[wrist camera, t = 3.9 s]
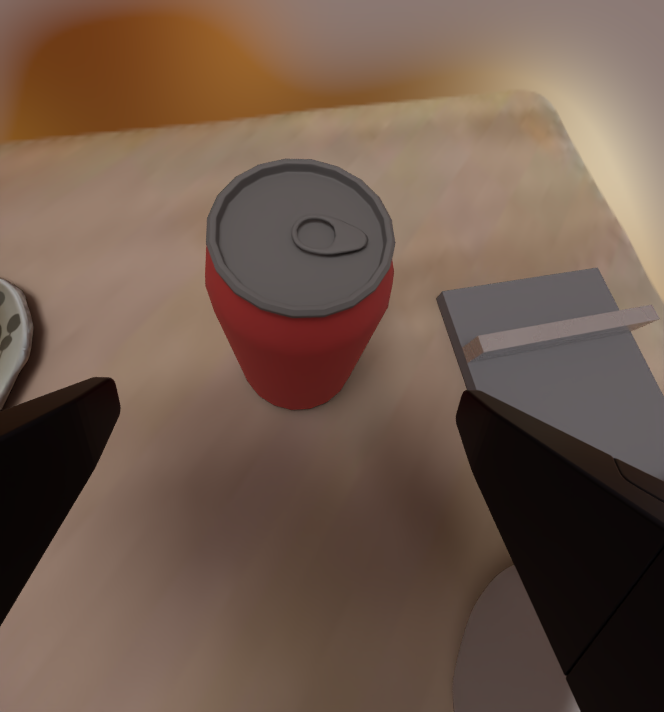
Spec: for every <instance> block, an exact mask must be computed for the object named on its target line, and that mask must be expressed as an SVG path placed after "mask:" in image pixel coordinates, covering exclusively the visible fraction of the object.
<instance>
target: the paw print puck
mask: <svg viewBox="0 0 664 712" xmlns="http://www.w3.org/2000/svg"><path fill="white" fill-rule="evenodd" d="M453 706H454V712H580V709H579V707H578V705H577V703H576V701H575V698H574V696H573V694H572V692H571V690H570V687H569V685H568V683H567V681H566V676H565V675H564V674H563V671H562V669H561V667H560V665H559V663H558V660H557V658H556V656H555V654H554V651H553V649H552V647H551V645H550V643H549V640H548V638H547V636H546V634H545V632H544V629H543V627H542V625H541V623H540V621H539V618H538V616H537V614H536V612H535V610H534V607H533V605H532V603H531V601H530V599H529V596H528V594H527V592H526V590H525V588H524V585H523V583H522V581H521V579H520V576H519V574H518V572H517V570H516V568H515V565H513V566H510V567H508V568H506V569H505V570H503V571H502V572H501V573H499V574H498V575H497V576H496V577H495V578H494V579H493V580H492V581H491V582H490V583H489V585H488V586H487V587H486V589H485V590H484V591H483V593H482V594H481V596H480V597H479V599H478V600H477V602H476V603H475V605H474V607H473V609H472V611H471V614H470V616H469V619H468V622H467V625H466V628H465V631H464V635H463V638H462V642H461V646H460V650H459V654H458V658H457V662H456V667H455V672H454V678H453Z"/></svg>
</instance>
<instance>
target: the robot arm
mask: <svg viewBox="0 0 664 712" xmlns="http://www.w3.org/2000/svg"><path fill="white" fill-rule="evenodd" d="M119 415H120V402H119V397H118V393H117V388H116V384H115V381H114V380H113V379H112V378H108V377H93V378H90V379H87V380H84V381H82V382H79V383H76V384H74V385H71V386H68V387H65V388H63V389H60V390H57V391H54V392H52V393H49V394H46V395H44V396H41V397H38V398H35V399H33V400H30V401H27V402H24V403H22V404H19V405H16V406H14V407H11V408H8V409H5V410H3V411H0V626H1V624H2V623H3V621H4V619H5V618H6V616H7V614H8V613H9V611H10V609H11V608H12V606H13V604H14V603H15V601H16V599H17V598H18V596H19V594H20V593H21V591H22V589H23V588H24V586H25V584H26V583H27V581H28V579H29V578H30V576H31V574H32V573H33V571H34V569H35V568H36V566H37V564H38V563H39V561H40V559H41V558H42V556H43V554H44V553H45V551H46V549H47V548H48V546H49V544H50V543H51V541H52V539H53V538H54V536H55V534H56V533H57V531H58V529H59V528H60V526H61V524H62V523H63V521H64V519H65V518H66V516H67V514H68V513H69V511H70V509H71V508H72V506H73V504H74V503H75V501H76V499H77V498H78V496H79V494H80V493H81V491H82V489H83V488H84V486H85V484H86V483H87V481H88V479H89V478H90V476H91V474H92V472H93V471H94V469H95V467H96V465H97V463H98V461H99V459H100V457H101V455H102V452H103V450H104V448H105V446H106V444H107V441H108V439H109V437H110V435H111V433H112V430H113V428H114V426H115V424H116V422H117V419H118V417H119ZM456 424H457V427H458V430H459V433H460V436H461V440H462V443H463V446H464V449H465V452H466V455H467V458H468V461H469V464H470V467H471V470H472V472H473V475H474V477H475V479H476V482H477V484H478V486H479V488H480V490H481V493H482V495H483V497H484V499H485V501H486V504H487V506H488V508H489V510H490V513H491V515H492V517H493V519H494V521H495V524H496V526H497V528H498V530H499V532H500V535H501V537H502V539H503V541H504V543H505V546H506V548H507V550H508V552H509V554H510V557H511V559H512V561H513V563H514V565H515V568H516V570H517V572H518V574H519V576H520V579H521V581H522V583H523V585H524V588H525V590H526V592H527V594H528V596H529V599H530V601H531V603H532V605H533V607H534V610H535V612H536V614H537V616H538V618H539V621H540V623H541V625H542V627H543V629H544V632H545V634H546V636H547V638H548V640H549V643H550V645H551V647H552V649H553V651H554V654H555V656H556V658H557V660H558V663H559V665H560V667H561V669H562V671H563V674H564V675H565V676H566V681H567V683H568V685H569V687H570V690H571V692H572V694H573V696H574V698H575V701H576V703H577V705H578V707H579V709H580V712H664V481H662V480H660V479H658V478H656V477H654V476H652V475H650V474H648V473H646V472H644V471H642V470H640V469H638V468H636V467H633V466H631V465H629V464H627V463H625V462H623V461H621V460H619V459H617V458H613V457H612V456H611V455H609V454H607V453H605V452H603V451H601V450H599V449H597V448H595V447H593V446H591V445H589V444H587V443H585V442H583V441H581V440H579V439H577V438H575V437H573V436H571V435H569V434H567V433H565V432H563V431H561V430H559V429H557V428H555V427H553V426H551V425H549V424H547V423H545V422H543V421H541V420H539V419H537V418H535V417H533V416H531V415H529V414H527V413H525V412H523V411H521V410H519V409H517V408H515V407H513V406H511V405H509V404H507V403H505V402H503V401H501V400H499V399H497V398H495V397H493V396H491V395H489V394H487V393H485V392H483V391H480V390H465V391H464V392H463V394H462V396H461V400H460V403H459V407H458V410H457V414H456Z"/></svg>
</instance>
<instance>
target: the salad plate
mask: <svg viewBox="0 0 664 712" xmlns="http://www.w3.org/2000/svg"><path fill="white" fill-rule="evenodd" d="M32 337H33V323H32V318H31V313H30V310H29V308H28V305H27V302H26V297H25V295H24V293H23V291H22V290H20V289H19V288H18V287H16V286H15V285H13V284H12V283H10V282H9V281H6V280H4V279H0V411H1V409H2V407H3V405H4V403H5V402H6V400H7V398H8V396H9V393H10V391H11V389H12V387H13V385H14V383H15V380H16V378H17V376H18V374H19V372H20V371H21V369H22V368H23V366H24V365H25V364H26V362H27V360H28V358H29V356H30V351H31V345H32Z"/></svg>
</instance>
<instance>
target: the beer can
mask: <svg viewBox="0 0 664 712" xmlns="http://www.w3.org/2000/svg"><path fill="white" fill-rule="evenodd" d="M206 245H207V247H206V267H205V284H206V289H207V291H208V294H209V297H210V300H211V303H212V306H213V309H214V312H215V314H216V316H217V318H218V320H219V322H220V324H221V326H222V328H223V331H224V333H225V335H226V337H227V339H228V341H229V343H230V345H231V347H232V349H233V352H234V354H235V356H236V358H237V360H238V362H239V364H240V366H241V368H242V370H243V372H244V375H245V377H246V379H247V381H248V382H249V384H250V385H251V386H252V387H253V389H254V390H255V391H256V392H257V394H258V395H259V396H260V397H262V398H264V399H265V400H267V401H268V402H270V403H271V404H273V405H275V406H279V407H283V408H287V409H291V410H296V409H310V408H313V407H316V406H318V405H321V404H323V403H326V402H327V401H329V400H330V399H331V398H332V397H334V396H335V395H336V394H337V393H338V392H340V391H341V389H342V387H343V386H344V384H345V382H346V381H347V379H348V378H349V376H350V374H351V372H352V371H353V369H354V367H355V365H356V363H357V362H358V360H359V358H360V356H361V354H362V353H363V351H364V349H365V347H366V345H367V344H368V342H369V340H370V338H371V336H372V335H373V333H374V331H375V329H376V327H377V326H378V324H379V322H380V320H381V318H382V317H383V315H384V313H385V311H386V309H387V308H388V303H389V298H390V294H391V289H392V284H393V275H394V269H393V262H392V257H393V252H394V247H395V238H394V232H393V226H392V219H391V218H390V216H389V214H388V212H387V210H386V208H385V206H384V205H383V203H382V201H381V199H380V197H379V196H377V195H376V194H375V193H374V192H373V191H372V190H371V189H370V188H369V187H368V186H367V185H366V184H365V183H364V182H363V181H362V180H361V179H359V178H357V177H356V176H354V175H352V174H350V173H348V172H347V171H345V170H343V169H341V168H339V167H338V166H334V165H330V164H327V163H323V162H319V161H316V160H312V159H282V160H277V161H273V162H268V163H264V164H260V165H257V166H255V167H253V168H251V169H250V170H248V171H246V172H244V173H242V174H240V175H238V176H236V177H235V178H234V179H233V180H232V181H231V182H230V183H229V184H228V185H227V186H226V187H225V188H224V189H223V190H222V191H221V192H220V193H219V194H218V195H217V197H216V199H215V202H214V204H213V206H212V208H211V211H210V213H209V215H208V217H207V232H206Z"/></svg>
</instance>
